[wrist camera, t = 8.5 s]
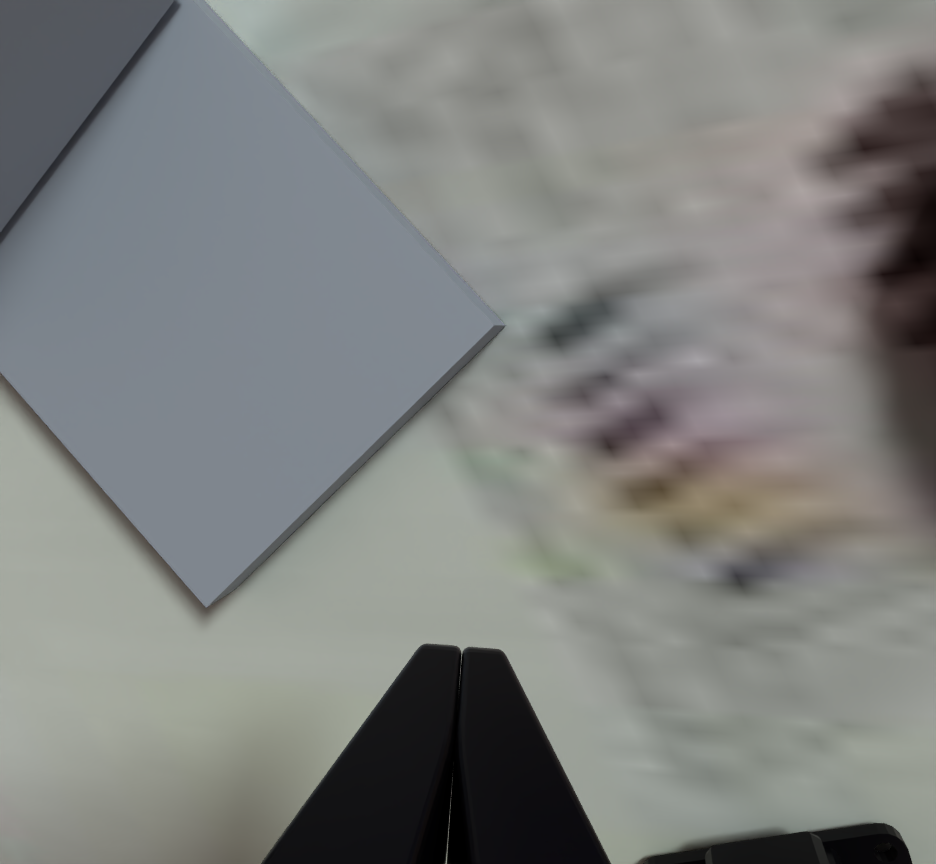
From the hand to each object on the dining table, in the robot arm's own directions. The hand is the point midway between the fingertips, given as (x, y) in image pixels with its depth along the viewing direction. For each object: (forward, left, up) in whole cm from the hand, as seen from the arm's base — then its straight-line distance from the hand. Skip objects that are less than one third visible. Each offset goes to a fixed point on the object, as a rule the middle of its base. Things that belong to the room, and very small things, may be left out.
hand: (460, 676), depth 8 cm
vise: (+10, +9, -12) cm, 18 cm away
